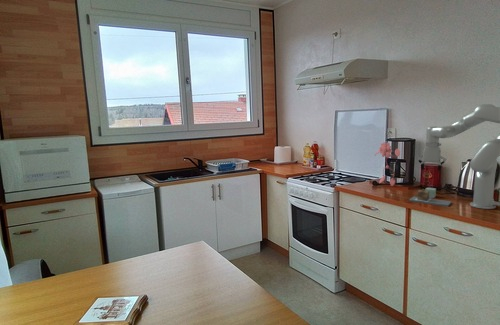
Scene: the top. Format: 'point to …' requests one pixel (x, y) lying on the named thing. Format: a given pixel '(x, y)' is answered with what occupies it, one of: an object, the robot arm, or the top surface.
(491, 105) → the robot arm
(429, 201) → the baseplate
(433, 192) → the green cube
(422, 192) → the walnut cube
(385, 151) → the pink flower sprig
